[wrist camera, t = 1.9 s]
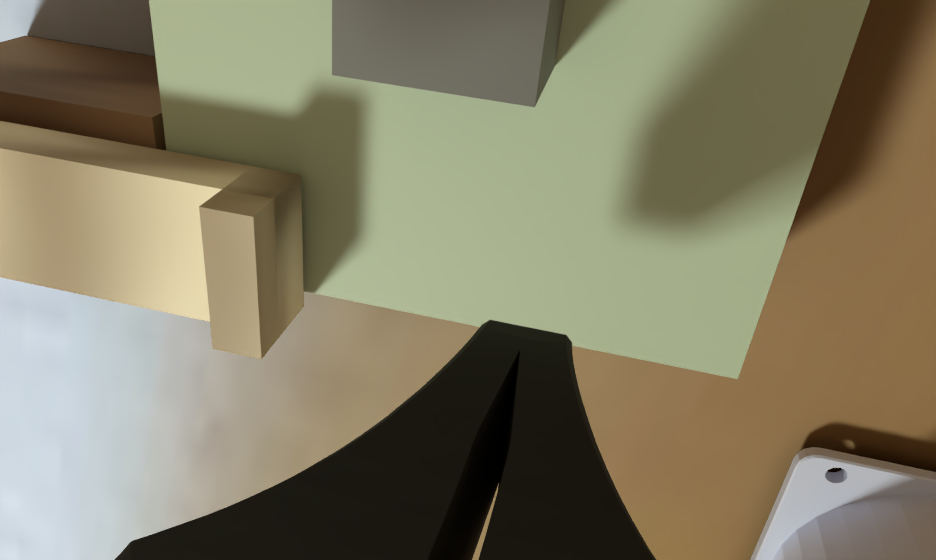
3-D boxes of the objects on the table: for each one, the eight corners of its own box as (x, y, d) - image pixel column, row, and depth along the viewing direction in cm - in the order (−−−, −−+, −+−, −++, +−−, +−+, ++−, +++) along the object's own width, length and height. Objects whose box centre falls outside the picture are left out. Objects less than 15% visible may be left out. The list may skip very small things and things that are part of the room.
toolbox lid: (990, -412, 10) (1143, -537, 7) (733, 350, 16) (751, 466, 13) (135, -459, 11) (-54, -576, 8) (203, 246, 17) (108, 325, 14)
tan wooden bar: (301, 174, 14) (253, 217, 13) (303, 305, 16) (261, 359, 14) (-62, 109, 15) (-151, 140, 14) (-27, 237, 17) (-104, 280, 15)
